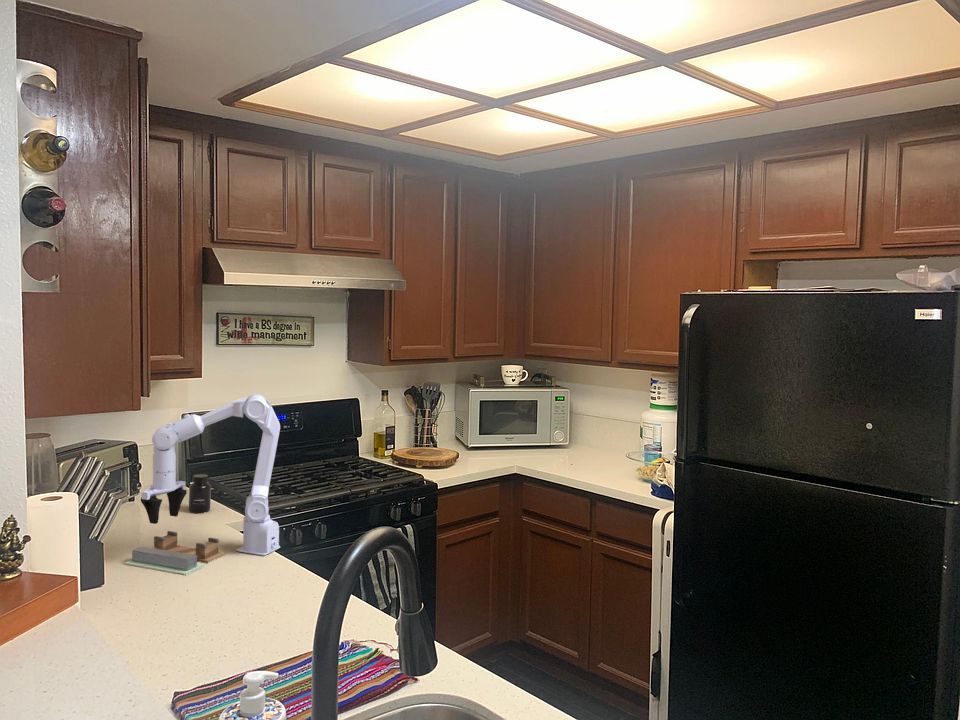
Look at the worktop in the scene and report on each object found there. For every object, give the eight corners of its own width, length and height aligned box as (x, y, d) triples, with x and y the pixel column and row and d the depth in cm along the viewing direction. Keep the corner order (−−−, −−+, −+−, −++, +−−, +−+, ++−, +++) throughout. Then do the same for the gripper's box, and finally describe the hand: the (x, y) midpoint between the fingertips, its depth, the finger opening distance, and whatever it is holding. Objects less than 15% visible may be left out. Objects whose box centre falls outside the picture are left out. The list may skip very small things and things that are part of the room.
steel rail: (196, 566, 192) (196, 555, 192) (187, 570, 189) (187, 559, 188) (141, 557, 197) (141, 546, 197) (132, 561, 194) (132, 550, 194)
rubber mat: (204, 566, 193) (204, 565, 193) (186, 575, 187) (186, 573, 186) (143, 556, 199) (143, 554, 199) (123, 564, 193) (124, 562, 193)
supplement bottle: (196, 515, 239) (196, 479, 239) (184, 511, 244) (184, 475, 243) (214, 510, 245) (215, 475, 244) (203, 507, 249) (203, 472, 248)
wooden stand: (224, 555, 202) (224, 538, 202) (207, 563, 196) (207, 546, 196) (166, 545, 209) (166, 529, 208) (147, 552, 202) (147, 536, 202)
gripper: (171, 464, 208) (171, 511, 208) (132, 474, 194) (132, 524, 195) (191, 466, 205) (191, 514, 206) (153, 477, 192) (153, 527, 192)
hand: (164, 519), depth 200 cm, fingers open, 7 cm apart
